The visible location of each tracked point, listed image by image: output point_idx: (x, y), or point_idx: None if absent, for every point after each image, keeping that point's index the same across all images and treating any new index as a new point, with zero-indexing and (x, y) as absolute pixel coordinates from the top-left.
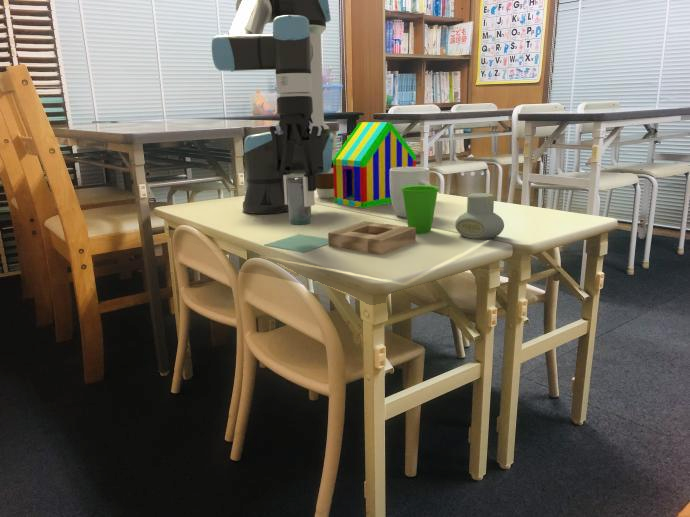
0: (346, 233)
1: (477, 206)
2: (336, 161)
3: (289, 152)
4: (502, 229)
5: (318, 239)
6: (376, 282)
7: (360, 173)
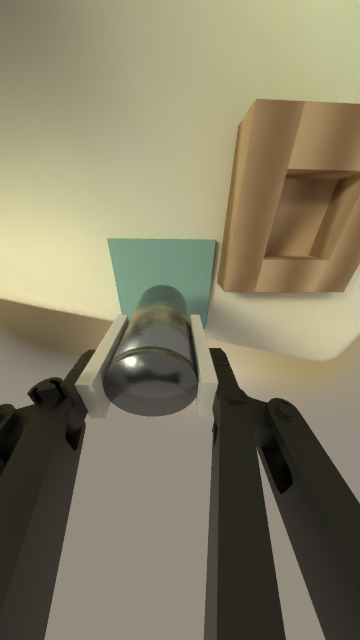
0: (262, 279)
1: None
2: None
3: (34, 606)
4: None
5: (175, 257)
6: (326, 359)
7: None
